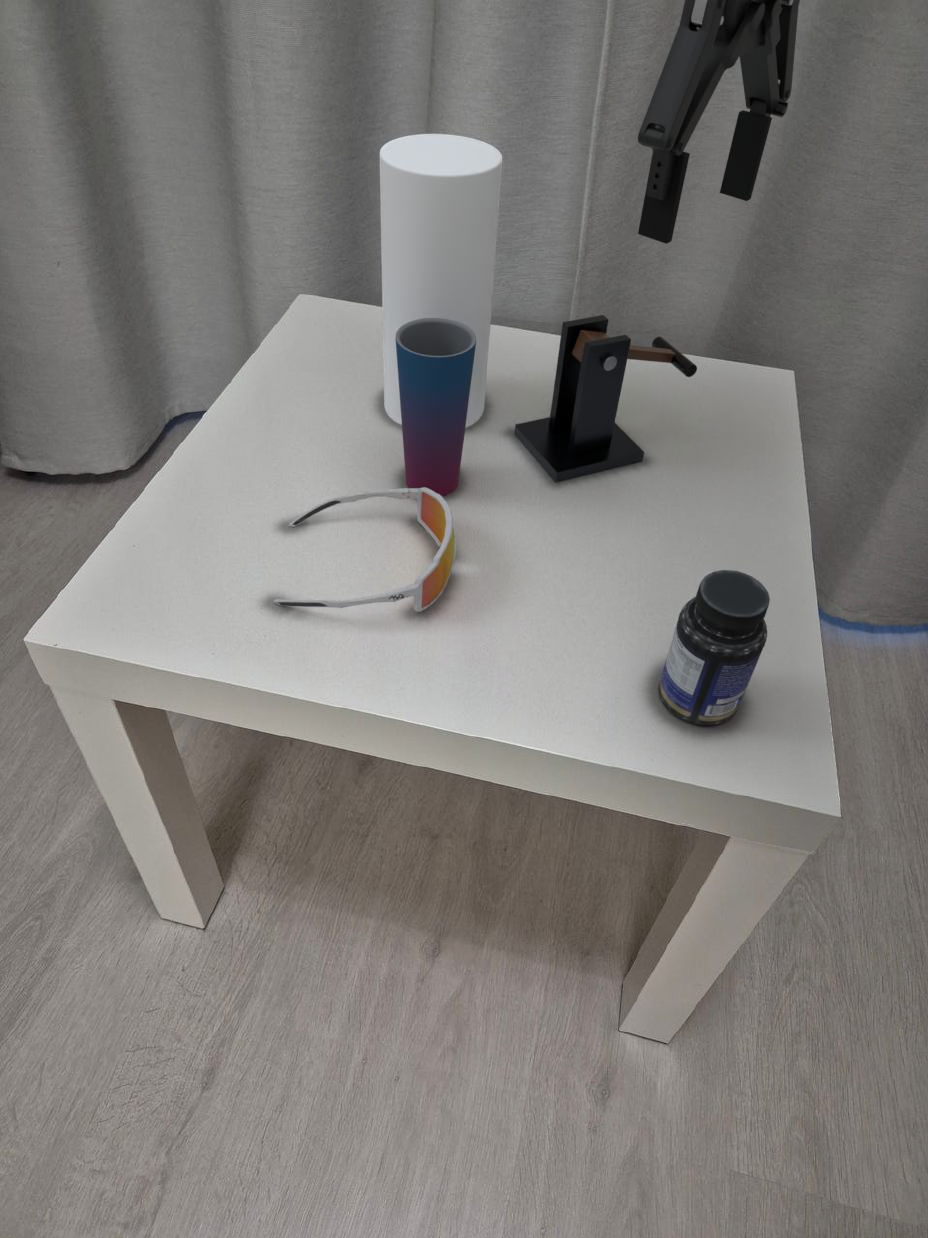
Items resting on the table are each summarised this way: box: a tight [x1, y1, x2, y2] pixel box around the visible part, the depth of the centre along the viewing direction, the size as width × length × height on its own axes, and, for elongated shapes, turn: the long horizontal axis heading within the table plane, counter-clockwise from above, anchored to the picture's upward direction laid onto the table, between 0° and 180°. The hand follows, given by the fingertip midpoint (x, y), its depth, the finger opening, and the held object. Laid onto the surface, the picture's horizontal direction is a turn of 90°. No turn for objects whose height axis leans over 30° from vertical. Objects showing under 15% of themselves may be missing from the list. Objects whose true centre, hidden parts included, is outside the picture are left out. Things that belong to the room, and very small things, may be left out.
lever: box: [572, 330, 698, 378], centre depth 84 cm, size 12×6×2 cm, turn 114°
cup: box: [395, 318, 476, 497], centre depth 79 cm, size 7×7×15 cm
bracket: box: [513, 314, 645, 483], centre depth 85 cm, size 10×9×13 cm
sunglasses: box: [273, 487, 458, 613], centre depth 74 cm, size 14×15×5 cm
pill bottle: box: [658, 569, 771, 726], centre depth 63 cm, size 6×6×11 cm
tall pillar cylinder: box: [379, 133, 503, 429], centre depth 85 cm, size 11×11×25 cm
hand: (696, 216), depth 74 cm, fingers open, 13 cm apart
